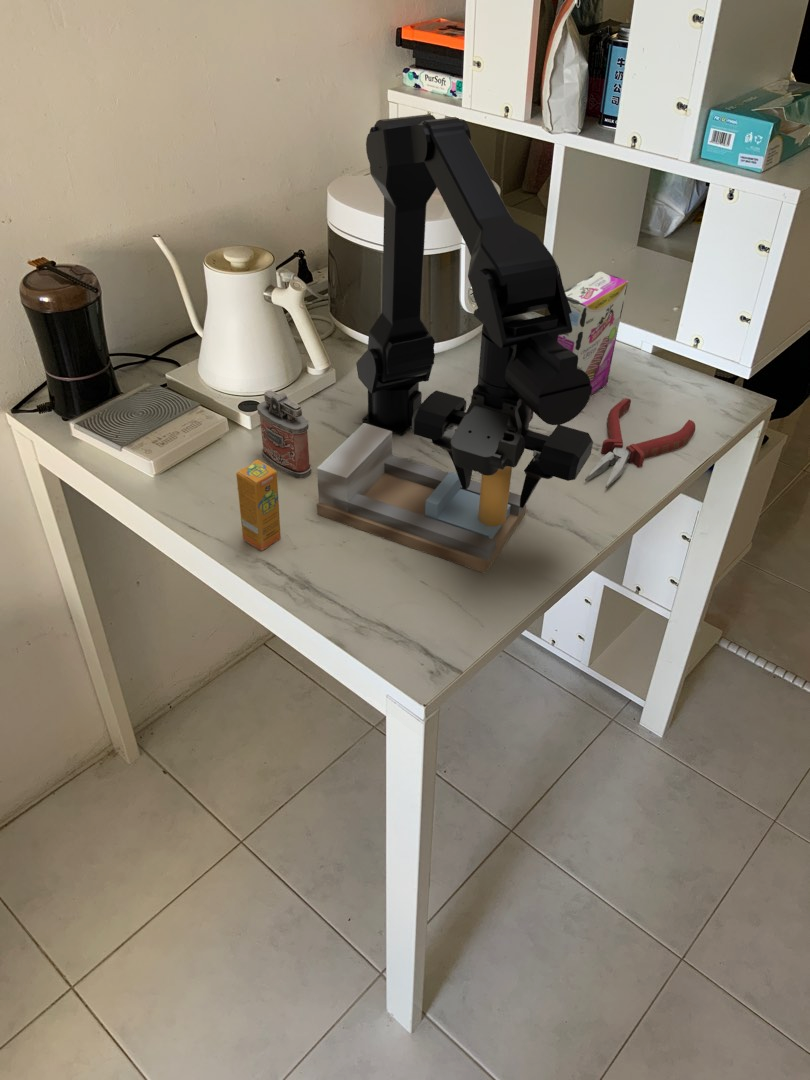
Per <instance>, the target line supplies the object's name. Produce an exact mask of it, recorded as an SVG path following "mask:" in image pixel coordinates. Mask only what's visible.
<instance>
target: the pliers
mask: <svg viewBox="0 0 810 1080" xmlns="http://www.w3.org/2000/svg"><path fill="white" fill-rule="evenodd" d="M631 402H632V400H631V399H630V398H623V399H621V400H620V401H619V402H618V403H616V405H614V406H613V407H612V408H611V409H610V411H609V413H608V414H607V419H606V427H607V434H608V435H607V436H608V438H606V439H604V440H603V442H602V444H601V445H602V447H601V450H600V452H601V453H600V454H601V455H603V456H602V457H601V459H600V460H598V462H597V463H596V464H595V465H594V467H593V468H592V470H591V471H590V472H589V473H588V475H587V476H585V479H584V481H585V482H587V481H588V480H591V479H592V478H594V477H596V476H599V475H600V474H603V473H604V472H606V471H607V470H608V469H609V465H612V466H613V469H612V470H611V472H610V475H609V478H608V480H607V482H606V485H605V489H607V488H609V486H610V485H612V484H613V483H614V481H616V480H617V479H618V478H619V477H620V476H621V475H622V473H623V472H624V470H625V467H626V465H627V464H633V466H635V467H636V468H641V467H643V466H644V465H643V464H644V461H645V460H646V459H649V458H652V457H655V456H656V457H657V456H659V455H663V454H667V453H671V452H674V451H676V450H679V449H681V448H683V447H684V446H686V445H687V444H688V442H689V440H691V438H692V436H694V433H695V431H696V424H695V421H693V420H692V419H688V420H687V421H686V423H685V424H684V425H683V426H682V428H681V429H679V430H677V431H675V432H674V433H671V434H667V435H663V436H660V437H656V438H652V439H649V440H646V441H642V442H638V443H631V444H630V445H626V448H623V447H624V441H623V437H622V436H623V435H622V431H621V430H622V429H621V424H620V419H621V418H622V417H623V416H624V415H625V414H626V413H627V412H628V411H629V410H630V407H631Z"/></svg>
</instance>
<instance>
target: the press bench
mask: <svg viewBox="0 0 810 1080" xmlns="http://www.w3.org/2000/svg"><path fill="white" fill-rule="evenodd" d="M448 473H449V472H448V471H445V470H441V469H438V468H436V467H432V466H429V465H425V464H423V463H419V462H416V461H412V460H409V459H407V458H403V457H401V456H396V455H393V432H392V431H389V430H386V429H383V428H379V427H376V426H373V425H369V424H366V423H362V424H361V425H360V426H358V428H356V429H355V431H354V432H353V433H352V434H350V435H349V437H347V438H346V439H345V440H344V441H343V442H342V443H341V444H340V445H339V446H338V447H337V448H336V449H335V450H334V451H333V452H332V453H331V454H330V455H329V456H328V457H327V458H326V459H325V460H323V462H321V463H320V465H318V466H317V468H316V476H317V492H318V502H317V503H316V512H317V513H316V514H317V516H318V515H319V516H321V517H323V518H324V517H325V518H327V519H330V520H333V521H335V522H338V523H341V524H344V525H347V526H349V527H353V528H355V529H358V530H360V531H363V532H367V533H370V534H372V535H375V536H377V537H381V538H383V539H387V540H389V541H391V542H395V543H398V544H401V545H403V546H405V547H409V548H411V549H414V550H418V551H420V552H423V553H426V554H428V555H431V556H434V557H438V558H440V559H443V560H445V561H449V562H452V563H454V564H458V565H460V566H462V567H465V568H469V569H472V570H475V571H477V572H480V573H483V574H486V573H488V570H489V569H490V567H491V566H492V564H493V563H494V561H495V560H496V558H497V557H498V555H499V553H501V551H502V549H503V548H504V546H505V545H506V543H507V542H508V540H509V539H510V538H511V535H512V534H513V533H514V531H515V530H516V529H517V527H518V525H519V524H520V522H522V519H523V518H524V516H525V515H526V510H527V504H526V505H525V506H524V507H523V508H521V507H520V497H521V494H518V493H515V492H511V491H509V498H508V504H509V505H511V507H510V515H509V516H508V517H507V519H506V521H505V522H504V523H503V525H502V526H501V528H500V529H499V530H498V532H497V533H496V535H495V536H494V538H493V539H491V538H488V537H485V536H482V535H479V534H476V533H473V532H470V531H467V530H464V529H461V528H458V527H455V526H452V525H449V524H446V523H443V522H440V521H437V520H434V519H432V518H429V517H426V516H425V506H426V500H427V499H428V497H429V496H430V495H431V494H432V493H433V491H434V490H435V489H436V488H437V487H438V485H439V484H440V483H441V482H442V481H443V479H444V478H445V477H446V476H447V475H448ZM460 489H462V490H465V489H463V488H462V485H461V486H460ZM465 491H469V492H472V493H475V494H478V495H480V491H481V482H480V481H476V480H473V479H471V481H470V485H469V487H468V488H467V489H466V490H465Z"/></svg>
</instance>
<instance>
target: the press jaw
mask: <svg viewBox="0 0 810 1080" xmlns="http://www.w3.org/2000/svg"><path fill="white" fill-rule="evenodd" d="M512 469H513V467H510V466H506V467H505V468H504V469H503V470H502V469H498V470H497V472H496V473H495V474H493V475H483V474H481V479H480V480H481V482H480V483H481V491H480V495H478V494H475V493H472V492H469V491H465V490H462V489H460V486H461V483H460V480H459V477H458V475H457V473H454V472H452V471H449V472H448V475H447V476H446V477H445V478H444V479H443V481H442V482H441V483H440V484H439V485H438V487H437V488H436V489H435V490H434V491H433V493H432V494H431V495H430V496H429V497H428V499H427V500H426V506H425V516H426V517H429V518H432V519H434V520H437V521H440V522H443V523H446V524H449V525H452V526H455V527H458V528H461V529H464V530H467V531H470V532H473V533H476V534H479V535H482V536H485V537H488V538H491V539H493V538H494V536H495V535H496V533H497V532H498V530H499V529H500V528H501V526H502V525H503V523H504V522H505V521H506V519H507V517H508V516H509V515H510V507H511V505H509V504H508V498H509V492H510V488H511V480H512V479H511V478H512V471H513V470H512Z"/></svg>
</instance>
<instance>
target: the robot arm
mask: <svg viewBox="0 0 810 1080" xmlns="http://www.w3.org/2000/svg"><path fill="white" fill-rule="evenodd" d="M366 136H367V137H366V139H365V140H366V141H365V146H366V147H365V149H366V150H365V151H366V155H367V159H368V162H369V172H370V175H371V177H372V179H373V181H374V183H375V184H376V186H377V187H378V189H379V191H380V192H381V195H382V196H383V242H382V243H383V247H382V258H383V259H382V299H381V300H382V301H381V313H380V314H379V316H378V317H377V319H376V321H375V322H374V324H373V325H372V326H371V329H370V330H369V332H368V339H367V340H368V341H367V349H366V351H365V352H364V353H363V354H362V355H361V357H359V359H358V360H357V361H356V362H355V363H356V364H355V365H356V371H357V377H358V379H359V381H360V382H361V383H362V384H363V386H364V387H365V388H366V390H367V414H365V416H364V417H363V418H362V421H361V423H362V424H363V423H366V424H369V425H373V426H376V427H379V428H383V429H386V430H389V431H392V434H397V435H399V436H403V435H405V434H406V433H407V432H408V431H409V430H410V429H411V433H413V435H415V436H418V437H422V438H425V439H428V440H431V443H432V444H433V445H434V446H436V447H439V448H441V449H443V450H444V451H446V452H447V453H448V455H449V457H450V459H451V462H452V463H453V466H454V469H455V471H456V474H457V475H458V477H459V480H460V483H461V485H462V488H463V489H465V490H466V489H467V488H468V487H469V485H470V481H471V480H472V476H473V471H474V472H477V473H479V474H481V475H482V474H483V475H493V474H495V473H496V472H497V470H498V469H502V470H503V469H504V468H505V467H506V466H510V467H512V469H513V468H516V467H517V466H518V465H519V462H520V460H521V459H522V456H523V454H524V451H525V450H528V451H531V452H532V458H531V460H530V461H529V462H528V464H527V466H526V467H525V468H524V470H523V472H524V474H525V477H524V481H523V486H522V489H521V494H520V495H521V497H520V507H521V508H523V507H524V506H525V505H526V506H527V503H528V501H529V499H530V498H531V496H532V494H533V492H534V491H535V489H536V487H537V485H538V483H539V482H540V480H541V479H545V480H550V479H553V478H557V479H561V480H563V481H566V482H567V481H568V482H569V481H574V480H576V479H577V477H578V476H579V474H580V473H581V471H582V470H583V468H584V466H585V465H586V462H587V461H588V460H589V458H590V456H591V455H592V449H593V445H594V441H593V439H592V437H591V435H590V433H589V432H586V431H582V430H580V429H575V428H573V427H572V428H571V427H568V426H564V424H566V423H569V422H571V421H572V420H573V419H575V418H576V417H577V416H579V414H580V413H582V411H583V410H584V409H585V408H586V406H587V404H588V403H589V401H590V398H591V396H592V395H591V392H592V386H591V383H590V379H589V377H588V375H587V374H586V373H585V372H584V371H583V370H582V369H581V368H579V367H578V366H577V365H578V356H577V355H576V354H575V353H573V352H572V351H571V350H569V349H566V348H565V347H563V346H562V345H561V344H560V343H558V342H557V341H558V336H559V335H563V334H568V333H571V332H572V325H571V320H570V316H569V314H571V313H572V311H571V308H570V305H569V302H568V299H567V296H566V293H565V290H566V289H565V287H564V285H563V281H562V276H561V272H560V268H559V265H558V263H557V262H556V260H555V258H554V255H552V253H551V252H550V251H549V249H548V248H547V247H546V245H545V244H544V243H543V241H542V240H541V238H540V237H539V236H538V235H537V234H536V233H534V232H533V231H531V230H529V229H528V228H526V227H524V226H522V225H520V224H518V223H517V222H516V221H515V220H514V218H513V217H512V215H511V213H510V212H509V210H508V208H507V206H506V204H505V203H504V200H503V198H502V197H501V195H500V193H499V191H498V189H497V187H496V186H495V183H494V181H493V180H492V178H491V177H490V175H489V173H488V171H487V169H486V167H485V166H484V164H483V161H482V160H481V158H480V156H479V154H478V152H477V150H476V148H475V147H474V145H473V143H472V141H471V140H472V138H471V137H472V136H471V131H470V128H469V125H468V123H467V121H466V120H465V119H462V118H458V117H456V116H453V117H451V116H450V117H442V118H436V117H435V116H434V115H433V114H429V113H428V114H420V115H410V116H403V117H401V116H400V117H394V118H391V117H390V118H385V119H384V118H383V119H382V118H381V119H379V120H377V121H375V124H374V126H372V127H370V129H369V133H368V134H367V135H366ZM436 189H437V190H438V192H439V194H440V196H441V198H442V200H443V202H444V204H445V206H446V208H447V209H448V212H449V214H450V216H451V217H452V220H453V221H454V223H455V225H456V228H457V229H458V231H459V233H460V235H461V237H462V239H463V241H464V243H465V245H466V247H467V250H468V253H469V256H470V259H469V260H470V261H469V266H468V273H467V278H468V281H469V283H470V286H471V290H472V295H473V300H474V302H475V304H476V307H477V308H476V309H474V310H473V316H474V318H476V319H477V320H478V321H479V322H481V324H482V327H481V328H482V329H481V337H480V338H481V340H480V351H479V352H480V354H479V363H478V364H479V365H478V375H477V376H478V377H477V385H476V386H475V387H474V388H473V389H472V394H471V397H470V398H471V399H470V403H469V406H468V408H467V400H466V399H465V398H464V397H461V396H458V395H454V394H451V393H447V392H444V391H439V390H435V391H433V392H432V393H430V394H429V395H428V396H427V397H426V398H425V399H424V400H423V401H422V397H423V396H422V391H421V390H420V389H419V387H420V384H419V383H422V382H429V379H430V376H431V372H432V369H433V366H434V364H435V358H436V355H435V343H436V341H435V339H434V336H432V335H431V333H430V332H429V330H428V328H427V327H426V326H425V323H424V322H423V321H422V317H421V316H422V315H421V314H422V299H423V298H422V295H423V277H424V261H425V260H424V258H425V242H426V241H425V239H426V223H427V222H426V220H427V219H426V217H427V205H428V203H429V201H430V199H431V197H432V196H433V195H434V193H435V191H436ZM546 309H547V311H548V312H549V314H547V315H546V314H545V315H542V316H538V317H533V318H528V317H526V316H525V315H524V314H528V313H534V312H538V311H544V310H546ZM590 395H591V396H590ZM534 414H535V415H536V416H537V417H538V418H539V419H541V420H542V421H543V423H546V424H547V425H549V426H550V425H551V426H556V427H555V429H554V430H553V431H547V432H539V431H537V430H533V429H530V428H529V427H530V422H531V421H532V420H533V419H534Z"/></svg>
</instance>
